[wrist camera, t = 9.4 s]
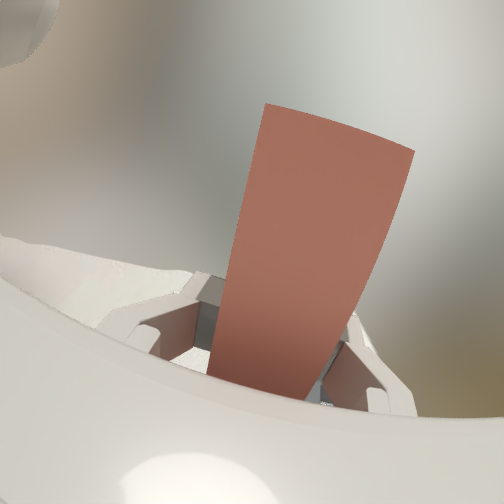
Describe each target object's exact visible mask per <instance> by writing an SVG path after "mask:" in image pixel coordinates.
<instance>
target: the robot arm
mask: <svg viewBox="0 0 504 504" xmlns="http://www.w3.org/2000/svg"><path fill="white" fill-rule="evenodd" d="M58 5H59V0H0V68H3V67H6V66H9V65H13V64H17V63H20V62H23V61H24V60H25V59H27V58H28V57H29V56H30V55H31V54H32V53H33V52H34V51H35V50H36V49H37V48H38V47H39V45H40V44H41V43H42V42H43V40H44V39H45V37H46V36H47V34H48V33H49V31H50V29H51V27H52V25H53V23H54V20H55V18H56V14H57V11H58ZM224 284H225V279H222V278H219V277H216V276H213V275H211V274H207V273H204V272H201V271H196V272H195V273H194V274H193V276H192V277H191V278H190V280H189V281H188V282H187V284H186V285H185V286H184V288H183V289H182V290H181V292H180V293H179V294H177V293H172V294H168V295H165V296H161V297H158V298H154V299H150V300H147V301H143V302H139V303H136V304H132V305H129V306H125V307H121V308H118V309H114V310H112V311H111V312H110V313H109V314H108V315H107V316H106V317H105V318H104V319H103V320H102V322H101V323H100V324H99V325H98V326H97V327H96V328H95V329H93V328H91V327H89V326H87V325H85V324H83V323H81V322H79V321H77V320H75V319H73V318H71V317H69V316H67V315H65V314H63V313H62V312H60V311H58V310H56V309H54V308H53V307H51V306H49V305H47V304H45V303H44V302H42V301H40V300H39V299H37V298H35V297H33V296H32V295H30V294H28V293H27V292H25V291H24V290H22V289H20V288H19V287H17V286H16V285H14V284H13V283H11V282H9V281H8V280H6V279H5V278H3V277H2V276H0V504H504V417H496V418H429V417H428V418H427V417H418V416H417V412H416V408H415V404H414V400H413V396H412V392H410V390H409V389H408V388H407V387H406V386H405V385H404V384H403V383H402V382H401V381H400V380H399V379H398V377H396V375H395V374H394V373H393V372H392V371H391V370H390V369H389V368H388V367H387V366H386V365H385V364H384V363H383V362H382V361H381V360H380V358H379V357H378V356H377V355H376V354H375V353H374V352H373V351H372V350H371V349H370V348H369V347H366V346H365V345H364V340H363V335H362V330H361V326H360V321H359V317H358V316H356V315H351V317H350V319H349V321H348V323H347V325H346V327H345V329H344V331H343V333H342V335H341V337H340V339H339V341H338V343H337V345H336V347H335V348H334V350H333V352H332V354H331V356H330V358H329V359H328V361H327V363H326V365H325V367H324V368H323V370H322V372H321V374H320V375H319V377H318V379H317V381H320V382H322V385H323V387H324V389H325V390H326V392H327V394H328V396H329V398H330V399H331V401H332V403H333V405H334V406H335V407H333V406H327V405H322V404H317V403H312V402H307V401H302V400H297V399H293V398H288V397H284V396H280V395H276V394H272V393H268V392H264V391H260V390H256V389H252V388H249V387H245V386H242V385H238V384H235V383H231V382H228V381H225V380H222V379H218V378H215V377H212V376H209V375H206V374H203V373H200V372H197V371H194V370H191V369H188V368H186V367H183V366H180V365H177V364H175V363H172V362H169V361H170V360H172V359H174V358H175V357H177V356H179V355H181V354H183V353H184V352H186V351H188V350H190V349H191V348H193V346H194V347H197V348H200V349H203V350H207V351H210V352H211V348H212V343H213V338H214V333H215V328H216V323H217V318H218V313H219V308H220V303H221V299H222V294H223V289H224Z"/></svg>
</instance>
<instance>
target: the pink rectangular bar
mask: <svg viewBox="0 0 504 504" xmlns="http://www.w3.org/2000/svg"><path fill="white" fill-rule="evenodd" d="M414 152H415V151H414V150H412V149H409V148H407V147H404V146H402V145H400V144H397V143H395V142H392V141H390V140H387V139H384V138H382V137H379V136H377V135H374V134H371V133H368V132H365V131H363V130H360V129H357V128H354V127H351V126H348V125H345V124H341V123H338V122H335V121H332V120H329V119H325V118H322V117H318V116H315V115H311V114H308V113H304V112H300V111H296V110H292V109H288V108H284V107H280V106H276V105H271V104H267V103H266V104H265V108H264V112H263V116H262V120H261V125H260V129H259V133H258V137H257V141H256V145H255V150H254V154H253V158H252V163H251V167H250V171H249V176H248V180H247V184H246V189H245V193H244V198H243V202H242V206H241V211H240V215H239V220H238V224H237V229H236V233H235V238H234V243H233V247H232V251H231V256H230V261H229V266H228V270H227V275H226V279H225V284H224V289H223V294H222V299H221V303H220V308H219V313H218V318H217V323H216V328H215V333H214V338H213V343H212V348H211V353H210V358H209V363H208V368H207V373H206V375H209V376H212V377H215V378H218V379H222V380H225V381H228V382H231V383H235V384H238V385H242V386H245V387H249V388H252V389H256V390H260V391H264V392H268V393H272V394H276V395H280V396H284V397H288V398H293V399H297V400H302V401H305V399H306V397H307V396H308V394H309V392H310V391H311V389H312V387H313V386H314V384H315V382H316V381H317V379H318V377H319V375H320V374H321V372H322V370H323V368H324V367H325V365H326V363H327V361H328V359H329V358H330V356H331V354H332V352H333V350H334V348H335V347H336V345H337V343H338V341H339V339H340V337H341V335H342V333H343V331H344V329H345V327H346V325H347V323H348V321H349V319H350V317H351V315H352V313H353V311H354V309H355V307H356V305H357V303H358V301H359V298H360V296H361V294H362V292H363V290H364V288H365V285H366V283H367V280H368V279H369V276H370V274H371V272H372V269H373V267H374V265H375V263H376V260H377V258H378V255H379V253H380V251H381V248H382V246H383V243H384V241H385V238H386V235H387V233H388V230H389V228H390V225H391V222H392V220H393V216H394V214H395V211H396V209H397V206H398V203H399V200H400V197H401V194H402V191H403V188H404V185H405V182H406V179H407V176H408V173H409V169H410V166H411V163H412V159H413V156H414Z"/></svg>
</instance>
